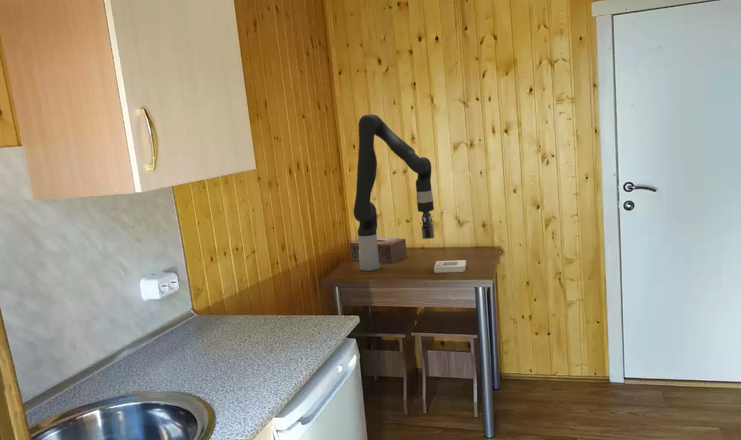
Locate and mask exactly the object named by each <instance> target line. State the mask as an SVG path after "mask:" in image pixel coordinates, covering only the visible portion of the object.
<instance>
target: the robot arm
mask: <svg viewBox="0 0 741 440" xmlns="http://www.w3.org/2000/svg"><path fill="white" fill-rule="evenodd" d="M375 136H377V137H378V138H380V139H381V140H382V141H384V143H385V144H386V145H387V146H388V147H389V149H390V150H391V151H392V152H393V153H394V155H396V156H397V157H399V159H401V160H402V161H403V162H404V163H405V164H406V165H407V166H408V167H409V169H410V170H411V171H413V173H415V174H417V179H416V180H415V191H416V192H415V193H416V197H415V198H416V205H417V212H420V213H422V215H421V221H422V225H423V229H424V230H425V238H430V227H429V225H430V224H432V213H430V212H433V211H434V210H435V207H434V206H435V205H434V196H433V191H432V183H431V178H432V163H431V161H430V159H429V158H427V157H424V156H422V157H420V156H419V155H418V154H417V153H416V151H415V149H414V148H413V147H412V146H410V145H409V144H408V143H407V142H405V141H404V140H403V139H402V138H400V137H399V136H398V135H397V134H396V133H395V132H393V130H392V129H390V127H389V126H388V125H387V124H386V123H385V122H384V121H383V120H382V119H381V117H379V115H376V114H373V113H372V114H364V115H362V116H361V117H360V118H359V121H358V155H357V166H356V167H357V172H356V189H355V190H356V191H355V192H356V193H355V201H354V206H353V216H354V219H355V220H356V221H357V222H359V225H358V226H359V227H358V229H357V238H358V239H357V240H358V241H359V251H358V253H359V261H358V262H359V270H360V271H365V272H367V271H368V272H370V271H376V270H379V269H380V268H381V267H380V266H381V265H380V263H379V254H378V243H377V238H378V235H377V230H378V215H377V208H376V206H375V204H374V203H373V202H372V201H371V195H372V190H373V187H374V185H375V182H376V179H377V170H378V169H377V168H378V167H377V166H378V161H377V156H376V155H377V154H376V151H375V148H374V147H375V146H374V145H375V144H374V140H375ZM425 225H427V227H425Z"/></svg>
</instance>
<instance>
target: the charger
mask: <svg viewBox="0 0 741 440" xmlns="http://www.w3.org/2000/svg"><path fill="white" fill-rule="evenodd" d="M425 227H427V225H425ZM429 227H430V238H425V230H424V229H423V224H422V225H421V234H422V235H421V236H422V239H423V240H427V239H434V238H435V229H434V228H435V227H434V224H433V223H431V224H430V225H429Z"/></svg>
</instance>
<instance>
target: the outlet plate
mask: <svg viewBox="0 0 741 440" xmlns="http://www.w3.org/2000/svg"><path fill="white" fill-rule="evenodd" d="M466 269H467V259H462V260H461V259H459V260H458V259H457V260H437V261H435V264H434V267H433V272H434V273H435V274H436V273H437V274H438V273H462V272H463V273H465V272H466Z"/></svg>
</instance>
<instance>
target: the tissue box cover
mask: <svg viewBox="0 0 741 440" xmlns="http://www.w3.org/2000/svg"><path fill="white" fill-rule="evenodd" d="M377 243H378V254H379V264H395V263H396V262H398V261H401V260H403V259H406V258H407V257H408V255H407V242H406V238H399V237H398V238H396V237H395V238H392V237H377ZM349 249H350V257H351V258H350V259H351V261H352V262H359V253H358V251H359V241H358V239H356V240H353V241H351V242H349Z"/></svg>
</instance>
